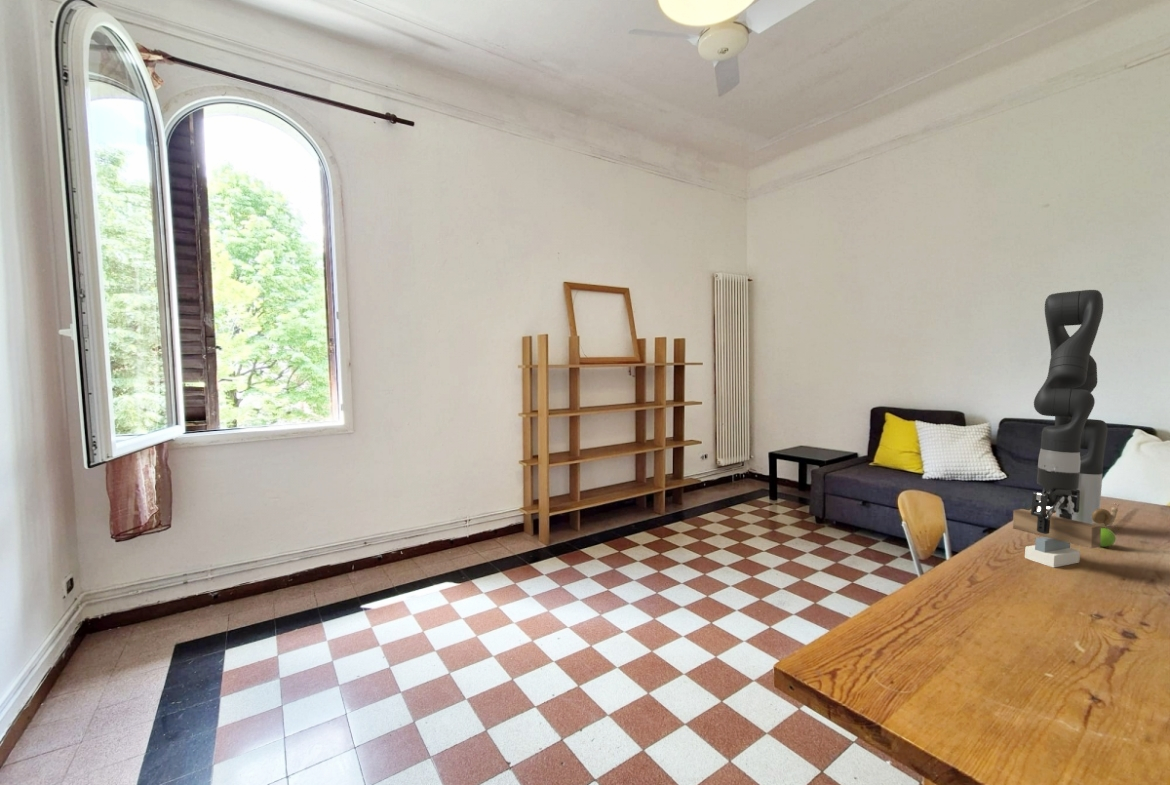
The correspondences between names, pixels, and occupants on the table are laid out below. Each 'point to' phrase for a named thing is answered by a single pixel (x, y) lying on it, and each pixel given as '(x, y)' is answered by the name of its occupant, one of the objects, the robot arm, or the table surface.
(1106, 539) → the snail figurine
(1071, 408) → the robot arm
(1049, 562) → the white grey stepped block
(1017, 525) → the walnut bar
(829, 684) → the table surface
